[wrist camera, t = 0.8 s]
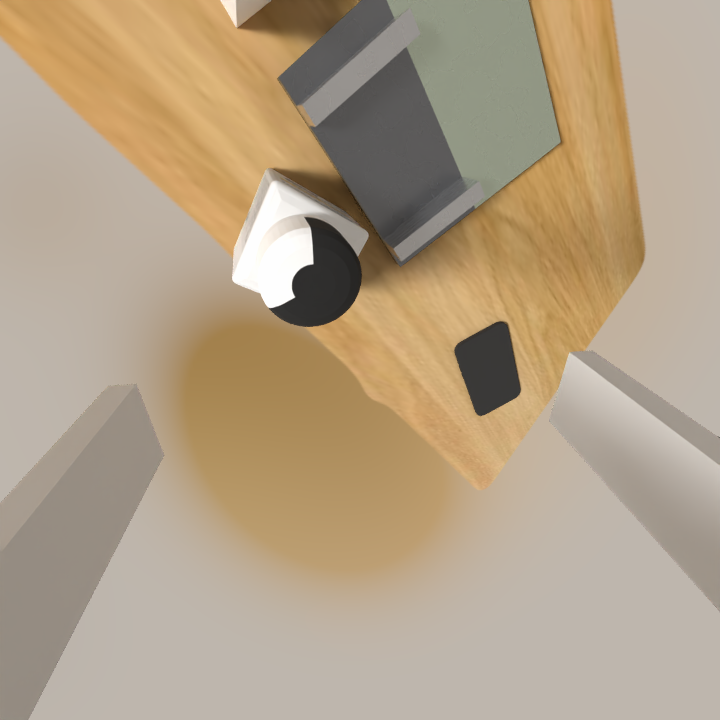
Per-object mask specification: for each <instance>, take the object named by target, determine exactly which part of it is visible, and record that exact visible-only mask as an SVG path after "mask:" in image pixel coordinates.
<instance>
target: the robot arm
mask: <svg viewBox="0 0 720 720" xmlns="http://www.w3.org/2000/svg"><path fill="white" fill-rule="evenodd" d="M549 421H550V422H551V424H552V425H553V426H554V427H555V428H556V429H557V430H558V431H559V433H560V434H561V435H562V436H563V437H564V438H565V439H566V440H567V442H568V443H569V444H570V445H571V446H572V447H573V448H574V449H575V450H576V452H577V453H578V454H579V455H580V456H581V457H582V458H583V459H584V461H585V462H586V463H587V464H588V465H589V466H590V467H591V468H592V469H593V471H594V472H595V473H596V474H597V475H598V476H599V477H600V478H601V479H602V481H603V482H604V483H605V484H606V485H607V486H608V487H609V488H610V489H611V491H612V492H613V493H614V494H615V495H616V496H617V497H618V498H619V500H620V501H621V502H622V503H623V504H624V505H625V506H626V507H627V508H628V510H629V511H630V512H631V513H632V514H633V515H634V516H635V517H636V519H637V520H638V521H639V522H640V523H641V524H642V525H643V526H644V527H645V529H646V530H647V531H648V532H649V533H650V534H651V535H652V536H653V537H654V538H655V540H656V541H657V542H658V543H659V544H660V545H661V546H662V548H663V549H664V550H665V551H666V552H667V553H668V554H669V555H670V556H671V558H672V559H673V560H674V561H675V562H676V563H677V564H678V565H679V566H680V567H681V569H682V570H683V571H684V572H685V573H686V574H687V575H688V576H689V578H690V579H691V580H692V581H693V582H694V583H695V584H696V585H697V587H698V588H699V589H700V590H701V591H702V592H703V593H704V594H705V595H706V597H707V598H708V599H709V600H710V601H711V602H712V603H713V604H714V606H715V607H716V608H717V609H718V610H719V611H720V437H718V436H716V435H715V434H713V433H712V432H710V431H709V430H707V429H706V428H704V427H703V426H701V425H700V424H698V423H697V422H696V421H694V420H692V419H691V418H690V417H688V416H687V415H685V414H684V413H682V412H681V411H680V410H678V409H677V408H675V407H673V406H672V405H670V404H669V403H668V402H666V401H665V400H663V399H662V398H661V397H659V396H658V395H656V394H655V393H653V392H652V391H650V390H649V389H648V388H646V387H644V386H643V385H642V384H640V383H639V382H637V381H636V380H634V379H633V378H631V377H630V376H628V375H627V374H626V373H624V372H623V371H621V370H620V369H618V368H617V367H615V366H614V365H613V364H611V363H610V362H608V361H607V360H605V359H604V358H602V357H601V356H599V355H598V354H597V353H595V352H593V351H579V352H569V356H568V359H567V362H566V366H565V369H564V372H563V376H562V379H561V382H560V386H559V389H558V392H557V396H556V399H555V402H554V405H553V409H552V412H551V416H550V419H549ZM163 457H164V453H163V451H162V449H161V446H160V443H159V441H158V438H157V436H156V433H155V431H154V428H153V426H152V423H151V420H150V418H149V415H148V413H147V410H146V407H145V405H144V402H143V400H142V397H141V394H140V392H139V389H138V387H137V384H129V385H128V384H127V385H114V386H108V387H107V388H106V389H105V390H104V391H103V392H102V393H101V394H100V395H99V396H98V397H97V399H96V400H95V401H94V402H93V403H92V404H91V405H90V406H89V407H88V408H87V409H86V410H85V412H84V413H83V414H82V415H81V416H80V417H79V418H78V419H77V420H76V421H75V422H74V424H73V425H72V426H71V427H70V428H69V429H68V430H67V431H66V432H65V433H64V435H62V437H61V438H60V439H59V440H58V441H57V442H56V443H55V444H54V445H53V446H52V448H51V449H50V450H49V451H48V452H47V453H46V454H45V455H44V456H43V457H42V458H41V459H40V461H39V462H38V463H37V464H36V465H35V466H34V467H33V468H32V469H31V470H30V471H29V472H28V474H27V475H26V476H25V477H24V478H23V479H22V480H21V481H20V482H19V483H18V484H17V485H16V487H15V488H14V489H13V490H12V491H11V492H10V493H9V494H8V495H7V497H5V498H4V500H3V501H2V502H1V503H0V720H28V719H29V717H30V715H31V713H32V711H33V710H34V708H35V705H36V704H37V702H38V700H39V698H40V696H41V694H42V692H43V690H44V688H45V686H46V684H47V682H48V680H49V678H50V676H51V675H52V672H53V671H54V668H55V667H56V665H57V663H58V661H59V659H60V657H61V655H62V653H63V651H64V649H65V647H66V645H67V643H68V641H69V640H70V638H71V636H72V634H73V632H74V630H75V628H76V626H77V624H78V622H79V620H80V618H81V616H82V614H83V612H84V610H85V608H86V606H87V604H88V602H89V601H90V599H91V597H92V595H93V593H94V590H95V589H96V587H97V585H98V583H99V581H100V579H101V577H102V575H103V573H104V571H105V569H106V567H107V566H108V564H109V562H110V559H111V557H112V556H113V554H114V552H115V550H116V548H117V546H118V544H119V542H120V540H121V538H122V536H123V534H124V532H125V531H126V529H127V527H128V525H129V523H130V521H131V519H132V517H133V515H134V513H135V511H136V509H137V507H138V505H139V503H140V501H141V499H142V497H143V495H144V493H145V492H146V490H147V488H148V486H149V484H150V482H151V480H152V478H153V476H154V474H155V472H156V470H157V468H158V466H159V464H160V462H161V461H162V459H163Z"/></svg>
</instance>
